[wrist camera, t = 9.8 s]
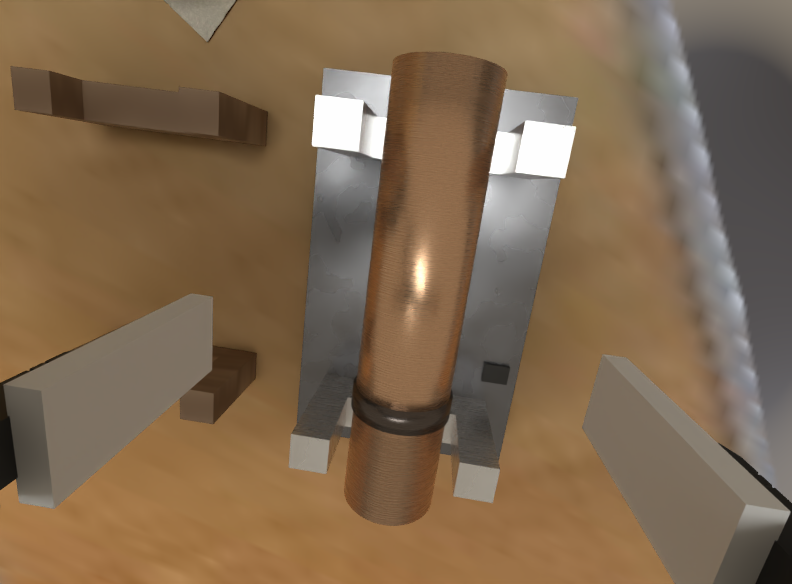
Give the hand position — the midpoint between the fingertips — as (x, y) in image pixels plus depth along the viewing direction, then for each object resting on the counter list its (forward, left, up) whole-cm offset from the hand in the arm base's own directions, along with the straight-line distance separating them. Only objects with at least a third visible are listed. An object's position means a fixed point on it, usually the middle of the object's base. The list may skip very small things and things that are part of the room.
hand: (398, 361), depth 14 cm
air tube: (0, 0, -10) cm, 10 cm away
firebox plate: (0, 0, -14) cm, 14 cm away
